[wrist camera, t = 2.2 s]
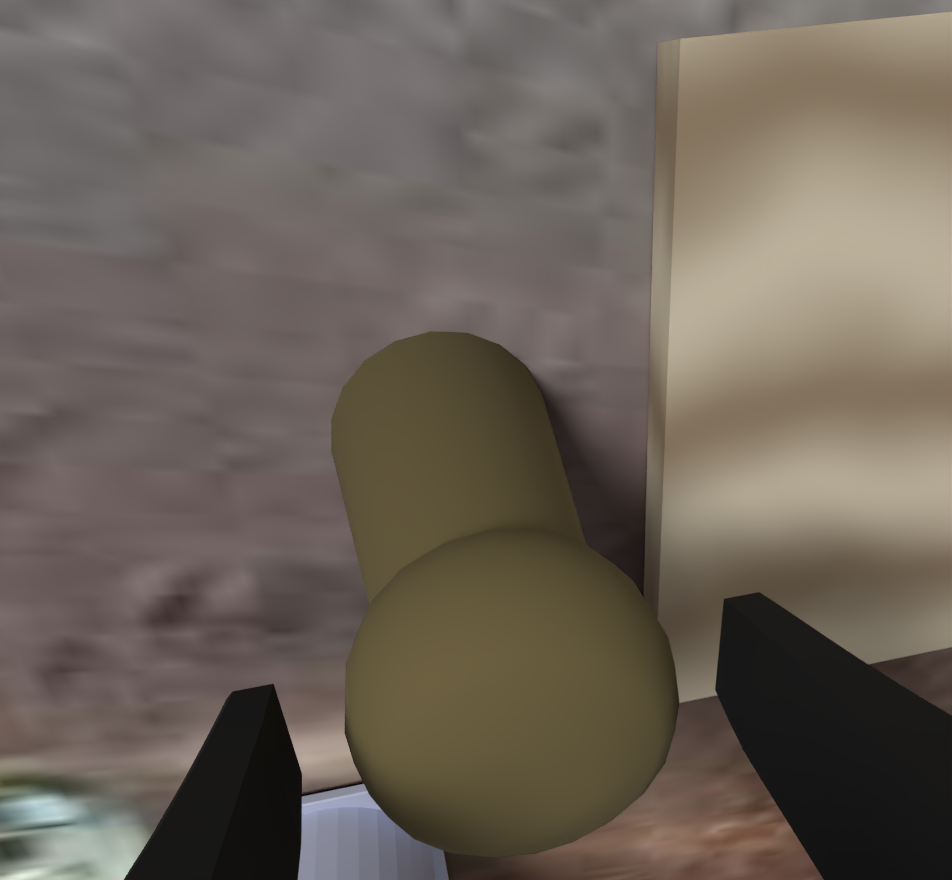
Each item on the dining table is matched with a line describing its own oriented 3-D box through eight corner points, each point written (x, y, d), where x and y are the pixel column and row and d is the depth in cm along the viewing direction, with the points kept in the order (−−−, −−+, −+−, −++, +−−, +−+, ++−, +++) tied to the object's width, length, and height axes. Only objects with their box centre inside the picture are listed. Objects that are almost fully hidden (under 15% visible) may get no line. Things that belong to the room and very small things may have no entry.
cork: (348, 541, 20) (347, 957, 10) (312, 345, 17) (264, 660, 8) (549, 511, 21) (723, 875, 11) (545, 318, 18) (771, 575, 8)
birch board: (993, 611, 26) (1020, 633, 25) (641, 682, 25) (654, 708, 24) (1198, -12, 17) (1255, -19, 16) (658, 42, 16) (680, 38, 15)
